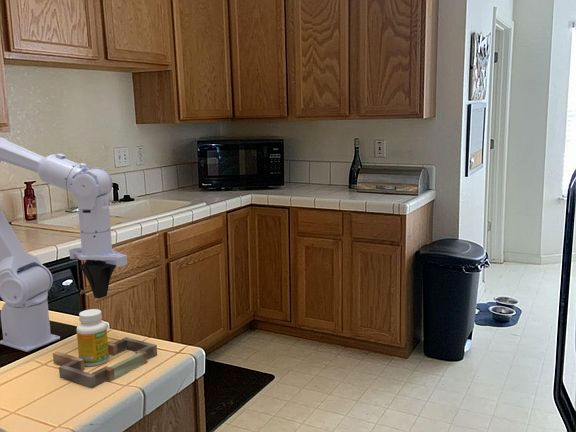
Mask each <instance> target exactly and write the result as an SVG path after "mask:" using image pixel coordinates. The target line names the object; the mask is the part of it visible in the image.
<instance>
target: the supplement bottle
mask: <svg viewBox="0 0 576 432" xmlns="http://www.w3.org/2000/svg"><path fill="white" fill-rule="evenodd" d="M78 315H79V316H78V317H79V318H78V319H79V322H80V323H79V324H78V325H77V326H76V339H77V350H78V351H77V352H78V358H81V359H84V367H95V366H99V365H103V364H104V363H106V362H107V361H108V360H109V358H110V354H109V351H108V342H109V340H108V339H109V338H108V330H107V329H108V327H107V323H106V322H105V321H104V320H102V319H103V314H102V310H100V309H99V308H92V309H85V310H83V311H80V312H79V313H78Z"/></svg>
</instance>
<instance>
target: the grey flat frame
mask: <svg viewBox="0 0 576 432" xmlns="http://www.w3.org/2000/svg"><path fill="white" fill-rule="evenodd" d="M108 351H109V356H116V355H119V354H121V353H122V352H124V351H132V352H134V353H135V354H133V355H131V356H129V357H126V358H125V359H122V360H121V361H119V362H117V363H114V364H113V365H111V366H107V365H106V366H103V367H101V368H99V369H97V370H95V371H93V372H91V373H90V372H87V371H84V370H86V369H85V366H84V359H81V358H79V356H78V357H77V356H74V355H70V354H67V353H64V352H61V351H55V352H52V358H53V361H52V362H53V364H54V365H59V366H58V371H59V372H58V374H59V379H63V380H65V381H68V382H70V383H71V382H72V383H74V384H77V385H81V386H84V387H86V388H89V389H93V388H95V387H97V386H99V385H101V384H102V383H103V384H104V383H105V382H106V381H109V382H111V381H113V380H116V379H118V378H119V377H122V376H123V375H125V374H127V373H129V372H131V371H134V370H135V369H137V368H139V367H141V366H143V365H144V364H146V363H148V360H149V359H152V358H154V357H155V356H157V355H158V346H157V344H153V343H150V342H147V341H142V340H138V339H134V338H130V337H128V336H127V337H123V338H121V339H118V340H117V341H114V342H112V341H111V342H110V341H108Z"/></svg>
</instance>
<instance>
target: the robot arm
mask: <svg viewBox="0 0 576 432" xmlns="http://www.w3.org/2000/svg"><path fill="white" fill-rule="evenodd" d="M66 157H67V155H65V154H63V153H56V154H55V153H53V154H50V155H47V156H43V155H41V154H39V153H37V152H34V151H33V150H32V151H31V150H30V149H28V148H25V147H23V146H20V145H18V144H16V143H14V142H11V141H9V140H7V139H6V137H5V138H4V137H0V163H1V162H4V163H7V164H11V165H13V166H16V167H19V168H22V169H26V170H29V171H32V172H34V173H38V175H39V179H40V180H41V181H43V182H44V183H46V184H48V185H52V186H54V187H56V188H59V189H62V190H64V191H67V192H69V193H71V195H72V196H73V197H74V199H75V200H76V206H77V207H78V208H77V209H78V220H79V234H80V235H79V236H80V244H81V245H80V247H75V248H71V249H69V250H68V251H69V252H68V253H69V259H70V260H75V259H77V260H80V261H85V262H84V263H82V264H80V265H79V269H80V270H81V272H82V273H83V274H84V276H85V277H86V279H87V281H88V284H89V286H90V288H91V291H92V292H91V293H92V294H93V296H94V298H95V299H98V300H99V299H102V298H106V297H107V296H108V292H109V285H110V281H111V277H112V275H113V273H114V271H115V269H116V267H119V268H121V267H124V266H127V265H128V254H123V253H121V252H118V251H116V250H114V249H113V244H112V243H113V242H112V230H111V229H112V228H111V219H110V218H111V216H110V205H109V204H110V202H109V194H110V192H111V191H112V189H113V178H112V177H111V175H110V173H109V172H108V171H106V170H104V169H103V168H102V167H92V168H89V167H88V163H84V162H81V163H79V162H76V161H72V160H70V159H68V158H66ZM53 280H54V279H53V275H52V272H51V271H50V269H48V268H47V267H46V266H45V265H43V264H42V262H40V260H39V258H38V256H35V255H34V254H32V253H29V252H26V251H25V248H24V247H23V245H22V244H21V241H19V238H18V236H17V235H16V233H15V232H14V229H13V227H11V224H10V223H9V221H8V219H7V217H6V216H5V214H4V212H3V210H2V209H1V208H0V299H1V300H2V301H3V302H4V303H3V305H2V307H1V309H0V322H1V330H2V338H3V339H1V340H0V345H4V346H5V347H10V348H13V349H16V350H18V351H19V350H20V351H23V352H31V351H33V350H36V349H38V348H40V347H43V346H45V345H48V344H50V343H52V342H56V341H58V340H60V339H61V336H60V335H56V334H54V333H51V324H50V314H49V304H48V303H49V302H48V296H49V290H50V289H51V288H52V286H53V283H54V281H53Z"/></svg>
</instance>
